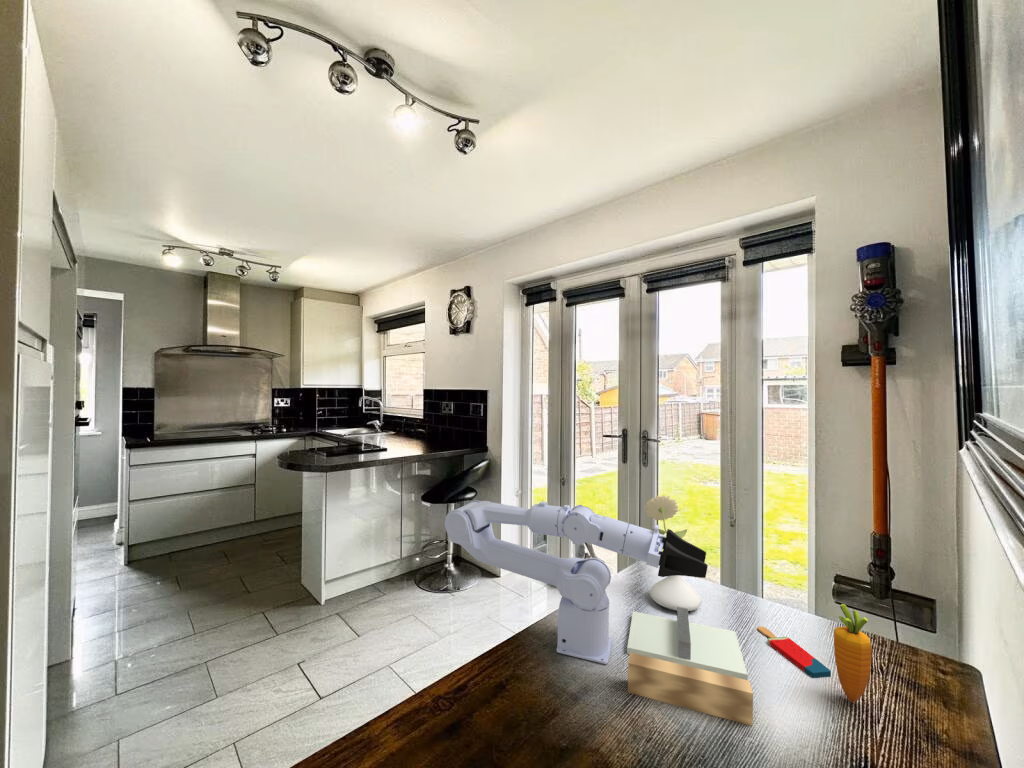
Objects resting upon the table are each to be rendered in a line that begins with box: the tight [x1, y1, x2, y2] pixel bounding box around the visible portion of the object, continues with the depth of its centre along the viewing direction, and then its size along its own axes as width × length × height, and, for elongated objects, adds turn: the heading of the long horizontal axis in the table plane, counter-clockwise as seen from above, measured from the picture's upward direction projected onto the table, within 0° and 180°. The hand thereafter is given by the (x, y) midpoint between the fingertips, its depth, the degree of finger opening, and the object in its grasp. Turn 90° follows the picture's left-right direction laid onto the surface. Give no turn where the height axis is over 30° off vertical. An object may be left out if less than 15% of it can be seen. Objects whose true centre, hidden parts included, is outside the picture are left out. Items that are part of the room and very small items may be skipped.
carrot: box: [833, 603, 873, 703], centre depth 68 cm, size 5×5×15 cm
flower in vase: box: [643, 495, 703, 612], centre depth 99 cm, size 13×11×25 cm
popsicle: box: [757, 626, 832, 679], centre depth 81 cm, size 4×2×15 cm
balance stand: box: [626, 607, 749, 680], centre depth 82 cm, size 20×14×4 cm
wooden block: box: [627, 653, 754, 727], centre depth 67 cm, size 18×3×5 cm, turn 69°
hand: (705, 564), depth 72 cm, fingers open, 7 cm apart
